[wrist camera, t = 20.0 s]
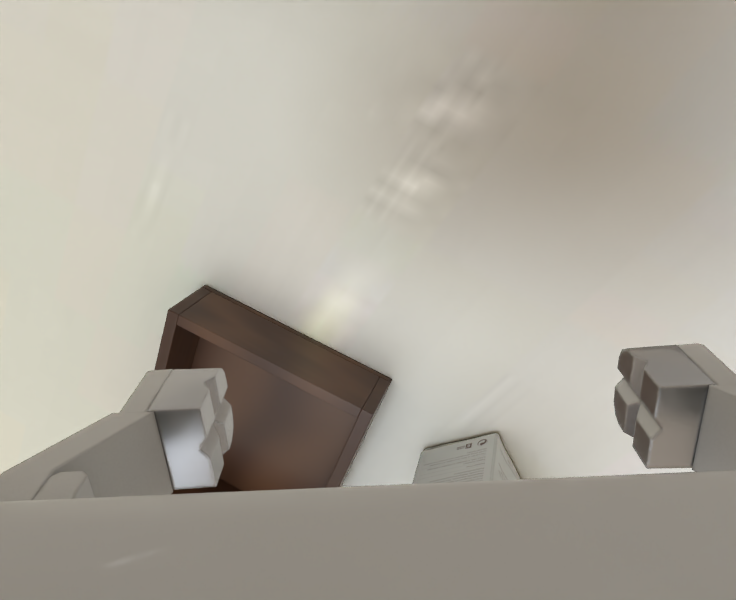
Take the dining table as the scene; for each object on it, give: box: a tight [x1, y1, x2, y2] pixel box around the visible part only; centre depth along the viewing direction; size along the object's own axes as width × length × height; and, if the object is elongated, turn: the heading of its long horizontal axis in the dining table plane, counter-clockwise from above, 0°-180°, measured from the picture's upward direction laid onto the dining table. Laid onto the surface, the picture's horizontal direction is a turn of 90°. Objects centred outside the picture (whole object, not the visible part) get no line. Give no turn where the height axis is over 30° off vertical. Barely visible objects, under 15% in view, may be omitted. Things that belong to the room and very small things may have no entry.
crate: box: [155, 285, 392, 494], centre depth 43 cm, size 15×17×4 cm
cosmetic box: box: [412, 433, 520, 484], centre depth 35 cm, size 8×6×15 cm
